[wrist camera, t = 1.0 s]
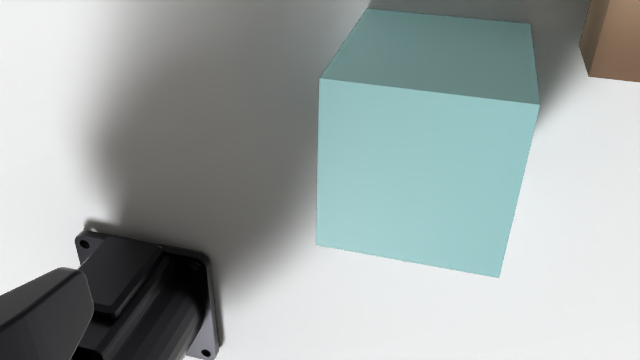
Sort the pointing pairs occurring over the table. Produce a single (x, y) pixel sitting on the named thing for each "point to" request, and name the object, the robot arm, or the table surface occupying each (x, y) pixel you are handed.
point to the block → (425, 138)
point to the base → (612, 40)
